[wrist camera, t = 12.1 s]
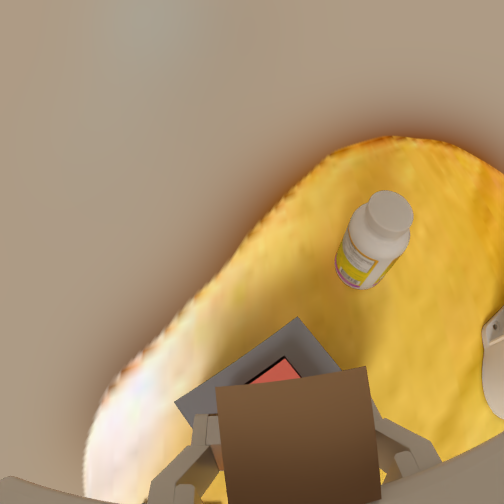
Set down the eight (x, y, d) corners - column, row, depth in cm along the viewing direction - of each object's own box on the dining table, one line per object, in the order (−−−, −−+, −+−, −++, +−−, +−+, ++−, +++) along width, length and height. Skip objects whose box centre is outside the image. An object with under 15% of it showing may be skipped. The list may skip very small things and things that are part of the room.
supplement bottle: (378, 243, 40) (414, 184, 29) (385, 290, 37) (430, 241, 26) (330, 243, 40) (353, 180, 29) (335, 291, 38) (365, 240, 26)
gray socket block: (289, 337, 35) (297, 316, 27) (348, 409, 31) (374, 410, 23) (195, 402, 32) (174, 401, 24) (253, 478, 28) (251, 501, 20)
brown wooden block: (242, 395, 17) (215, 386, 7) (305, 387, 17) (366, 366, 7) (249, 454, 15) (231, 524, 5) (312, 446, 15) (381, 498, 5)
